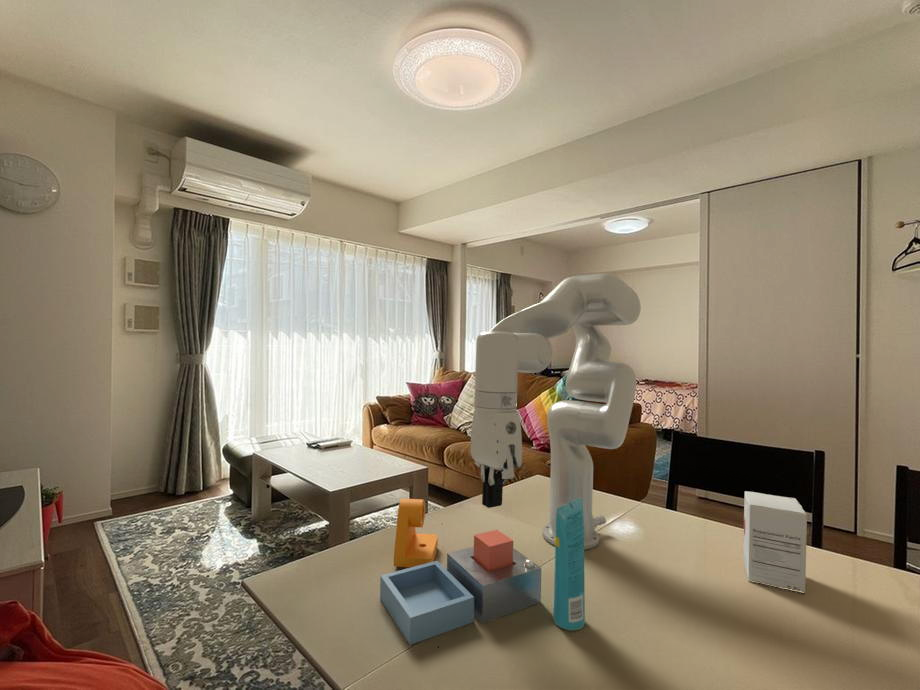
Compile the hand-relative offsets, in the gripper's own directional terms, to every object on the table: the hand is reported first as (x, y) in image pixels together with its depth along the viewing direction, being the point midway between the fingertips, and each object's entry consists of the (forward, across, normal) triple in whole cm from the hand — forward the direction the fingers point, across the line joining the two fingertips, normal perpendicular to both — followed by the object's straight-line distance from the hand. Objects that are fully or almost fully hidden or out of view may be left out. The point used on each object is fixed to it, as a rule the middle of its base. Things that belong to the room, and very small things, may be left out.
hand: (492, 505), depth 76 cm
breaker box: (+16, 0, -1) cm, 16 cm away
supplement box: (+15, -21, -52) cm, 58 cm away
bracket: (+16, +18, +6) cm, 25 cm away
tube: (+16, -12, -7) cm, 21 cm away
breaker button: (+13, 0, -1) cm, 13 cm away
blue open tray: (+16, +2, +12) cm, 20 cm away
